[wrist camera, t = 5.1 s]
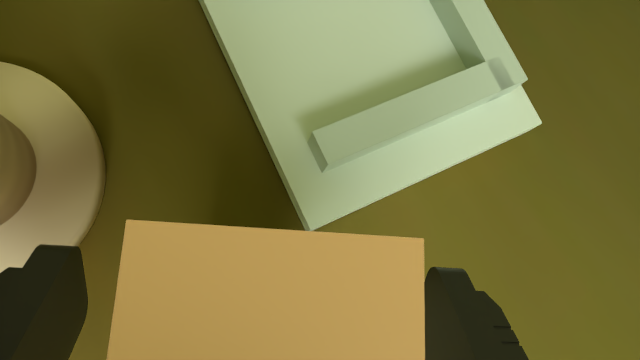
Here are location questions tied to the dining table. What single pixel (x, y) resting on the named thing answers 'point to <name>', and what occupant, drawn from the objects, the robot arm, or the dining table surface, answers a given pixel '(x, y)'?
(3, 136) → the bobbin
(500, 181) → the dining table surface
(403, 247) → the block
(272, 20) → the ridged board
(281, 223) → the dining table surface
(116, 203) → the dining table surface
